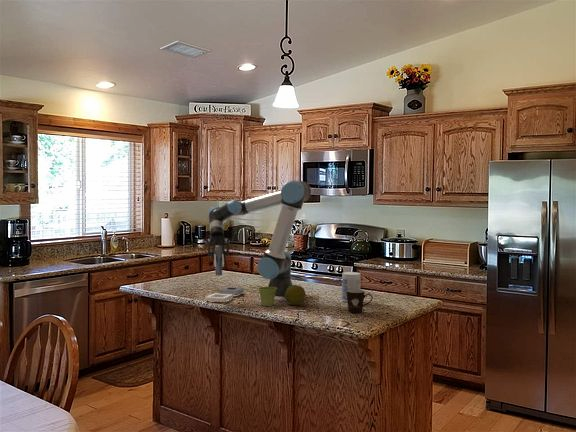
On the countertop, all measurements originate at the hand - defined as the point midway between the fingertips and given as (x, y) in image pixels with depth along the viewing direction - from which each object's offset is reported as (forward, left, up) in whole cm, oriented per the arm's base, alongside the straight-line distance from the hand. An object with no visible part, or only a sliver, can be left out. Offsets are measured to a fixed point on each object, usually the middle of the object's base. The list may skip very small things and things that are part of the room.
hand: (219, 265), depth 268 cm
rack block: (+2, -3, -19) cm, 19 cm away
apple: (-39, -5, -19) cm, 44 cm away
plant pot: (-26, 0, -19) cm, 33 cm away
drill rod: (+2, -3, -6) cm, 7 cm away
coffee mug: (-72, +2, -19) cm, 75 cm away
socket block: (+2, -19, -19) cm, 27 cm away
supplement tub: (-64, -22, -19) cm, 71 cm away
